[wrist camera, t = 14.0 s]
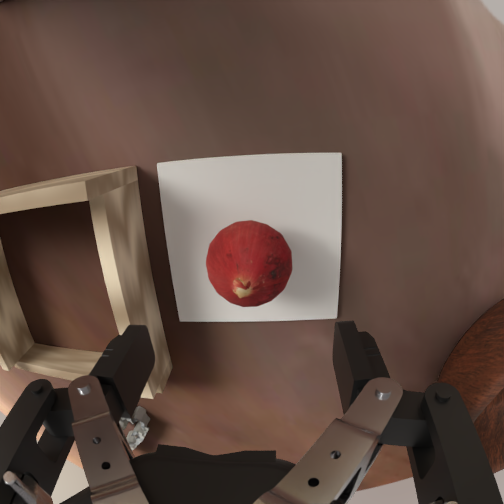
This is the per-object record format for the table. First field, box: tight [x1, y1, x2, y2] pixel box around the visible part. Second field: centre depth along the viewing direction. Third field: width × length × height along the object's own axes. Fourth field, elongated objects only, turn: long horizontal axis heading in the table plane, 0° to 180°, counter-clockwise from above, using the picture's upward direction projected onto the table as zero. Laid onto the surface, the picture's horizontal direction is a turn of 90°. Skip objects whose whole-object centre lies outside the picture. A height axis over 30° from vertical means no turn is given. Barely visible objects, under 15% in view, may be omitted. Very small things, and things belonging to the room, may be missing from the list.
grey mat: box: [157, 153, 342, 322], centre depth 26 cm, size 14×14×1 cm
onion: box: [206, 220, 293, 307], centre depth 22 cm, size 6×6×8 cm
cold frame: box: [0, 166, 173, 399], centre depth 25 cm, size 20×20×8 cm
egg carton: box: [119, 406, 150, 450], centre depth 34 cm, size 11×8×4 cm
